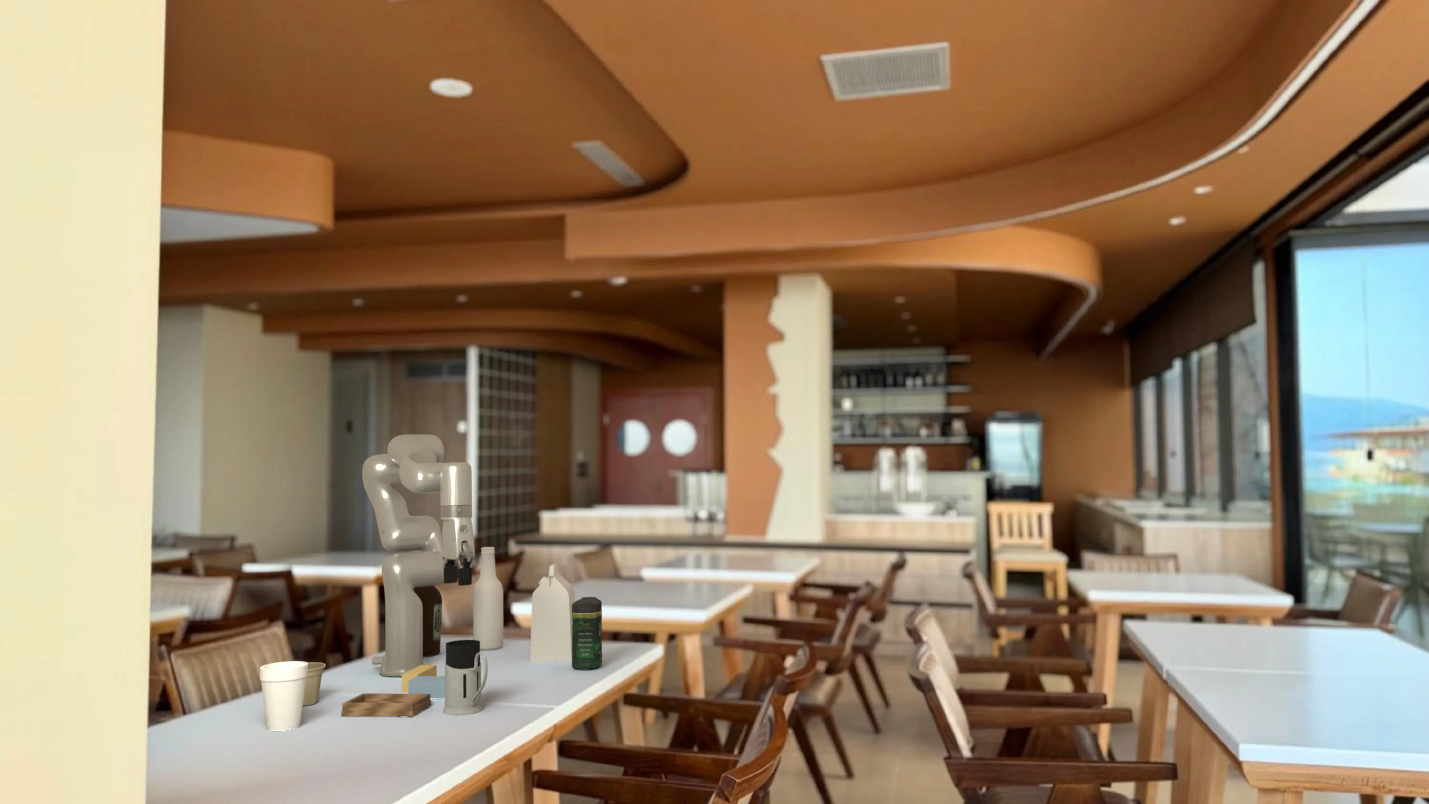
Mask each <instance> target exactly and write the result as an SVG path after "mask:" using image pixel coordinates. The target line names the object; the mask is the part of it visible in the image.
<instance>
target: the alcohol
mask: <svg viewBox="0 0 1429 804" xmlns="http://www.w3.org/2000/svg"><path fill="white" fill-rule="evenodd" d="M495 549H496V548H495V547H494V546H484V547H481V548H480V550H481V552H480V554H481V557H480V559H481V560H480V572H479V577H478V580H477V581H476V582H475V584H474V585H473V589H472V622H473V623H472V626H473V627H472V629H473V631H472V637H473V638H472V640H478V641H480V651H494V650H500V649H502V647H503V646H504V587H503V584H502V583H501V581H500V580H499V579H498V576H497V571H496V559H495V553H496V552H495Z"/></svg>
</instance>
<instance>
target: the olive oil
mask: <svg viewBox="0 0 1429 804" xmlns="http://www.w3.org/2000/svg"><path fill="white" fill-rule="evenodd" d="M413 590H414V592H415V593H416V594H417V596H418V597H419V598H420V600H421V602H422V607H423V658H425V657H427V658H428V657H432V656H437V655H439V654H441V642H442V641H441V636H442V632H441V631H442V614H443V597H442V594H441V592H440V590H439V589H438V588H437V587H436V585H435V586H426V587H417V588H413Z"/></svg>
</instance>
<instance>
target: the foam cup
mask: <svg viewBox="0 0 1429 804" xmlns="http://www.w3.org/2000/svg"><path fill="white" fill-rule="evenodd" d="M308 663H309V662H307V661H300V660H299V661H298V660H293V661H291V660H289V661H278V662H271V663H266V664H264V665H261V666H260V668H259V681H260V683H261V690H262V697H263V706H264V714H265V719H266V728H267V731H268V730H270V731H269V732H272V731H282V732H287V731H286V730H289V731H292V730H291V729H293V730H296V729H295V728H297V727H299V726H301V722H302V714H303V707H304V706H303V699H304V692H305V685H306V677H307V676H308ZM299 728H300V727H299ZM297 729H298V728H297Z"/></svg>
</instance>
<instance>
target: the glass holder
mask: <svg viewBox="0 0 1429 804" xmlns="http://www.w3.org/2000/svg"><path fill="white" fill-rule="evenodd" d="M481 656H482V658H483V662H484V671H483V672H484V673H483V678H482V663H481ZM444 661H445V662H444V676H445V699H444V708H443V710H442V713H443V714H444V713H445V715H447V714H448V716H466V715H467V716H469V715H473V714H477V713H480V712H482V711H483V710H484V707H483V705H482V691H483V689H484V688H485V685H486V682H487V677H488V672H489V671H488V669H489V667H488V665H489V664H488V663H489V662H488V658H487V655H486V654H485V652H484V651H481V650H480V641H478V640H473V639H459V640H458V639H456V640H451V641H448V642H446V643H445V660H444Z"/></svg>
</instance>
